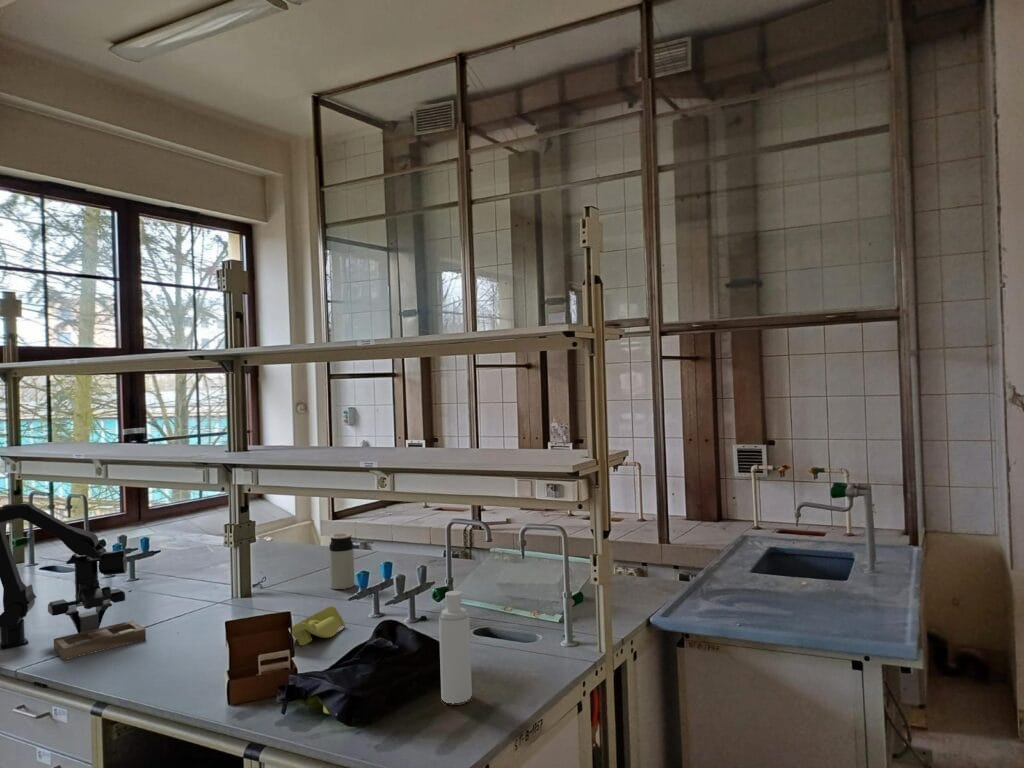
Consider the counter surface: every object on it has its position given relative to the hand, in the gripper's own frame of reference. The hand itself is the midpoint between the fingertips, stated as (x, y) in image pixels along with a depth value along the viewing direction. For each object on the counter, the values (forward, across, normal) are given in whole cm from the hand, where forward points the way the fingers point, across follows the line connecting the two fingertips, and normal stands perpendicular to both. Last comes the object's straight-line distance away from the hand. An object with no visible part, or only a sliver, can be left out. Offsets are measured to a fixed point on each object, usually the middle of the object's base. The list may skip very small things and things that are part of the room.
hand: (88, 631), depth 212 cm
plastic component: (+2, +42, -52) cm, 67 cm away
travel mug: (+1, +75, -14) cm, 76 cm away
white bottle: (+1, +44, -113) cm, 121 cm away
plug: (+1, 0, 0) cm, 1 cm away
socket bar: (+1, 0, -12) cm, 12 cm away
